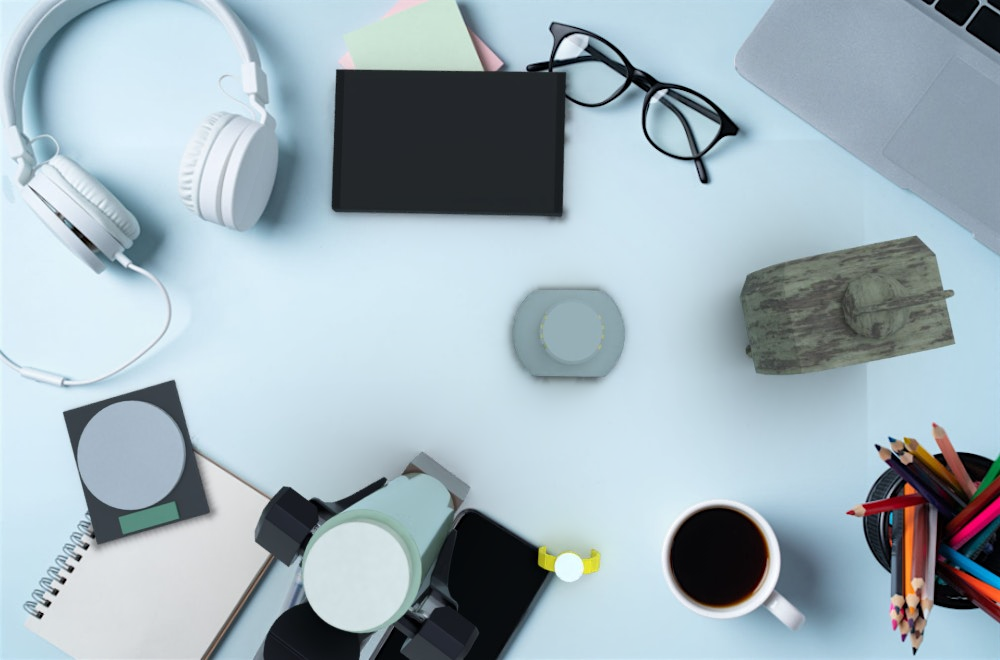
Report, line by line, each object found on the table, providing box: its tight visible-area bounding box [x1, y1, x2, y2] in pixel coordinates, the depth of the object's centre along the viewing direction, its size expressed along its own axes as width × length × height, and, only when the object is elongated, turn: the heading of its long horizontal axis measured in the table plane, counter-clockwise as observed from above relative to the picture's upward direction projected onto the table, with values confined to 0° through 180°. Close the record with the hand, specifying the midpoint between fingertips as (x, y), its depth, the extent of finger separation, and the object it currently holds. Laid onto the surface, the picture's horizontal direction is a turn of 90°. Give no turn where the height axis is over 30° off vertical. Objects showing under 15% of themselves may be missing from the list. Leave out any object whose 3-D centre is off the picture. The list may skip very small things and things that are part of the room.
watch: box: [537, 545, 601, 583], centre depth 76 cm, size 6×3×6 cm, turn 87°
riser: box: [400, 451, 471, 515], centre depth 75 cm, size 6×6×9 cm
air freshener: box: [512, 289, 626, 378], centre depth 75 cm, size 11×8×10 cm
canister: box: [300, 473, 455, 633], centre depth 57 cm, size 7×7×26 cm
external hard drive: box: [331, 68, 567, 217], centre depth 79 cm, size 14×23×3 cm, turn 88°
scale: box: [62, 379, 211, 545], centre depth 80 cm, size 14×12×2 cm
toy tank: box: [739, 235, 956, 376], centre depth 66 cm, size 14×9×25 cm, turn 101°
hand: (419, 505), depth 67 cm, fingers closed on canister, 7 cm apart
